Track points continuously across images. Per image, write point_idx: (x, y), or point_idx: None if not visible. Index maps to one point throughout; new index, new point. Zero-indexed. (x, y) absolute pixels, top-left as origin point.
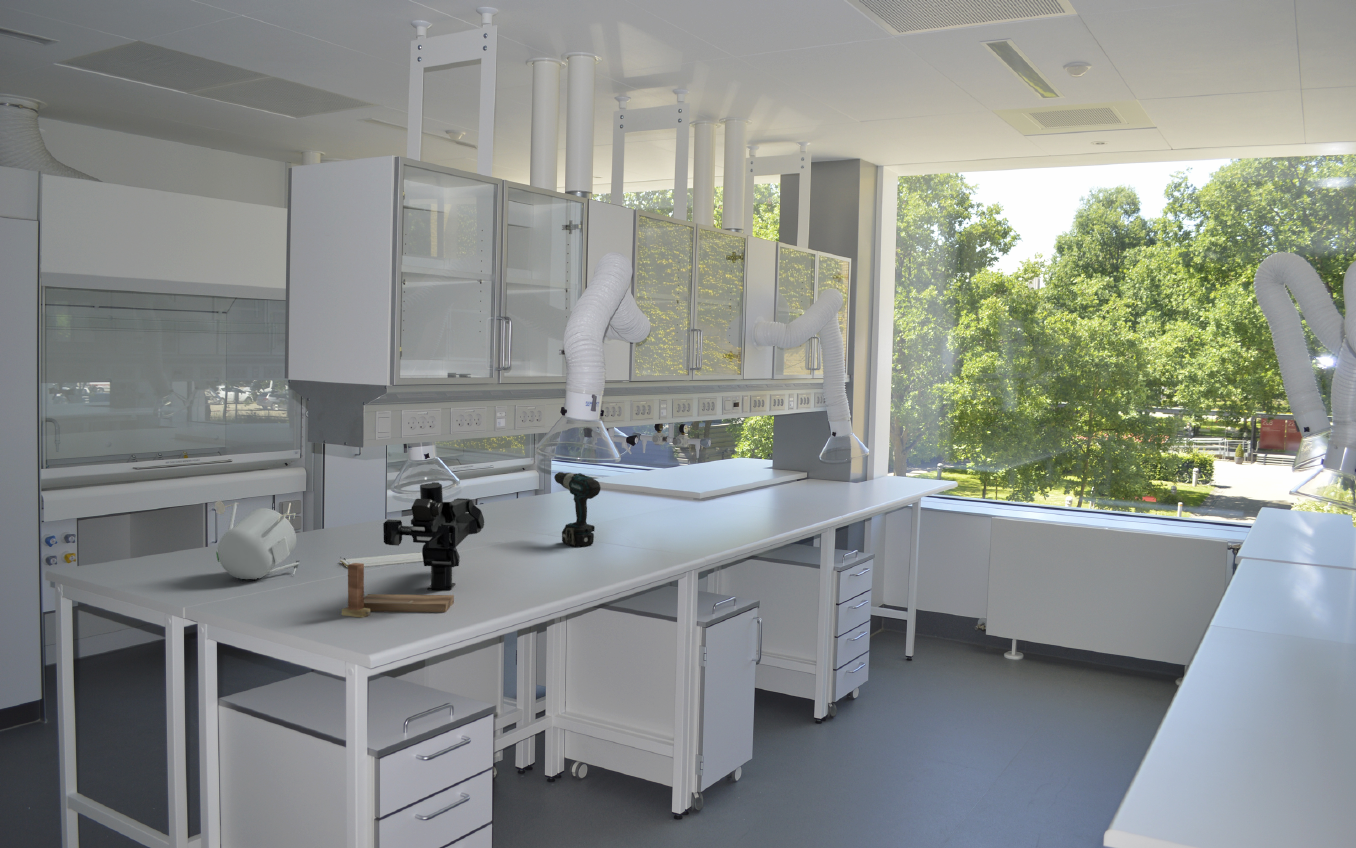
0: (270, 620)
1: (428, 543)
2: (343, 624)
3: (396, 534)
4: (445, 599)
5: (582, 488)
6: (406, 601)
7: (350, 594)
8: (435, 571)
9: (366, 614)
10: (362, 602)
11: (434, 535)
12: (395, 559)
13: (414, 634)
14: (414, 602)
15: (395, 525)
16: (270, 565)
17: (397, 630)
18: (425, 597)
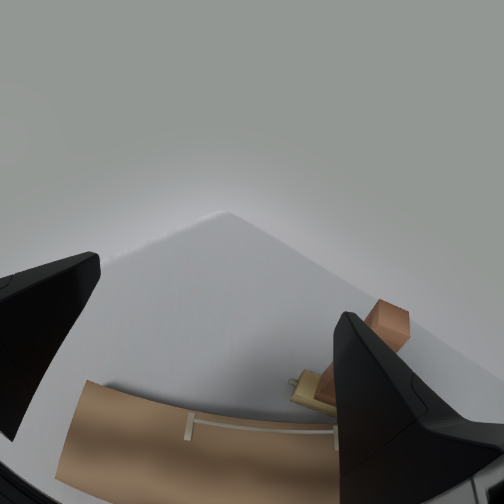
0: (432, 357)
1: (92, 253)
2: (315, 331)
3: (388, 394)
4: (81, 434)
5: None
6: (204, 438)
7: None
8: None
9: (295, 386)
10: (321, 387)
11: (9, 292)
12: None
13: (172, 258)
14: (177, 422)
15: (494, 436)
16: None
17: (202, 282)
18: (146, 479)
